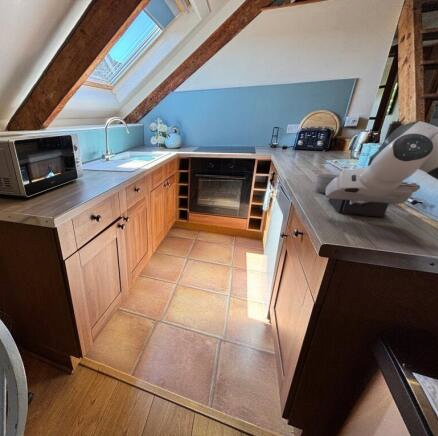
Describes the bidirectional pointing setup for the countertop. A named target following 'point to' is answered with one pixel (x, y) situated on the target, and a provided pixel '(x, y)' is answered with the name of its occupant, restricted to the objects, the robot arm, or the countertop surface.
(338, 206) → the dark grey drawer box
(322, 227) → the countertop surface
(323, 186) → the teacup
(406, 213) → the countertop surface
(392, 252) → the countertop surface
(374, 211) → the drawer
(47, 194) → the countertop surface
